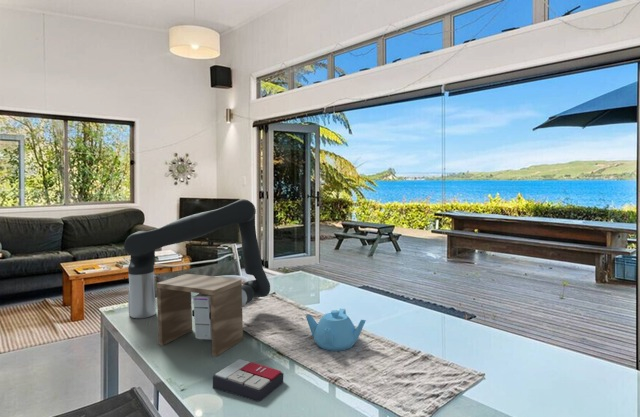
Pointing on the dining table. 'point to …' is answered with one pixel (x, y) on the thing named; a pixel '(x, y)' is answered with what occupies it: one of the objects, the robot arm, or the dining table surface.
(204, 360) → the dining table surface
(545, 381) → the dining table surface
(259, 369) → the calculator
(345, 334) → the teapot
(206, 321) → the syrup box
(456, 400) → the dining table surface
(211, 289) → the cubby shelf
